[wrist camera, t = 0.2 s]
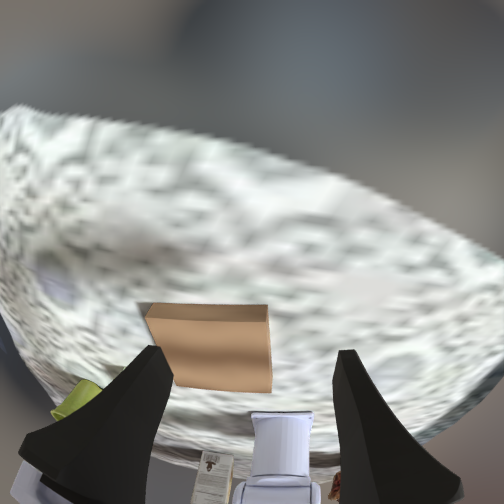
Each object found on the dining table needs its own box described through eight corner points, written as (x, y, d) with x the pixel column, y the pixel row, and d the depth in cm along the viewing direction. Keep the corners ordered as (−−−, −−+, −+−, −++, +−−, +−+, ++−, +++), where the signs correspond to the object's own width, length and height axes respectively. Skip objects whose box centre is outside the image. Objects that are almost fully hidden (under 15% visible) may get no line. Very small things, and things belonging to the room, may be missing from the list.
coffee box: (235, 465, 45) (225, 525, 31) (206, 461, 45) (193, 520, 31) (233, 454, 40) (221, 524, 26) (201, 449, 41) (185, 517, 27)
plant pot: (63, 365, 33) (40, 404, 25) (106, 380, 32) (83, 426, 24) (87, 397, 37) (69, 432, 30) (128, 411, 36) (112, 451, 29)
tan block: (272, 373, 26) (271, 393, 24) (182, 368, 28) (176, 385, 25) (267, 300, 22) (265, 322, 19) (155, 299, 23) (144, 317, 21)
